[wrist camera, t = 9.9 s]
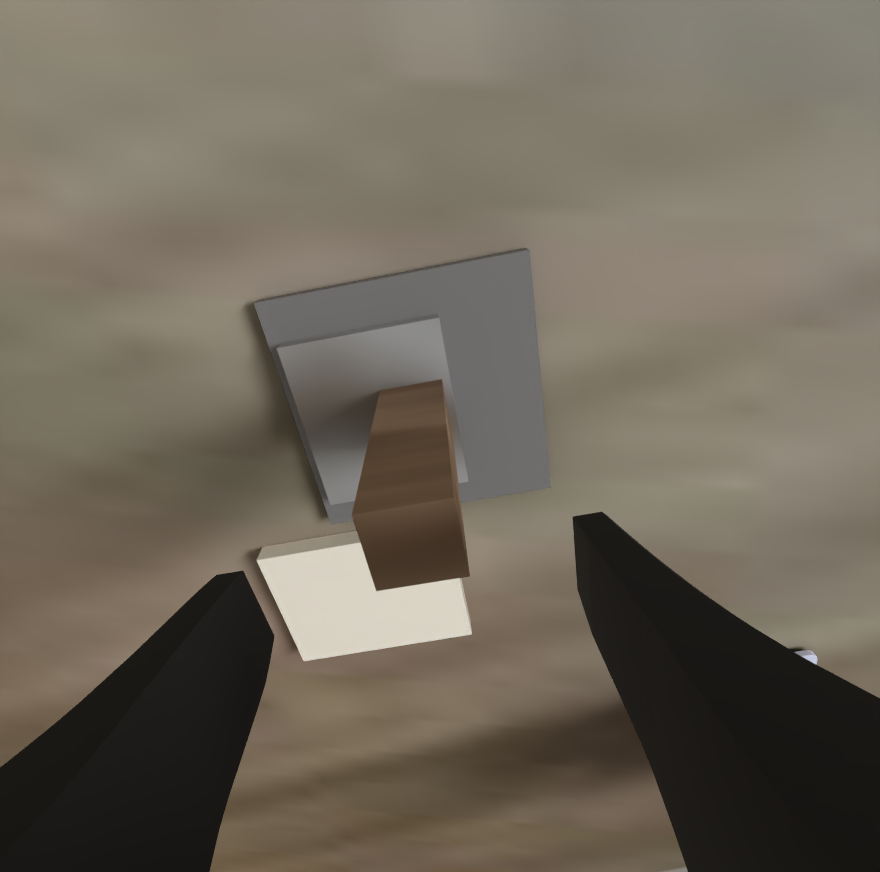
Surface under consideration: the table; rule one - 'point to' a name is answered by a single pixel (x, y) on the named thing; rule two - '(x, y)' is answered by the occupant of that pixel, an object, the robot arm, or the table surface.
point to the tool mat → (467, 352)
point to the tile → (354, 600)
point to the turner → (387, 443)
